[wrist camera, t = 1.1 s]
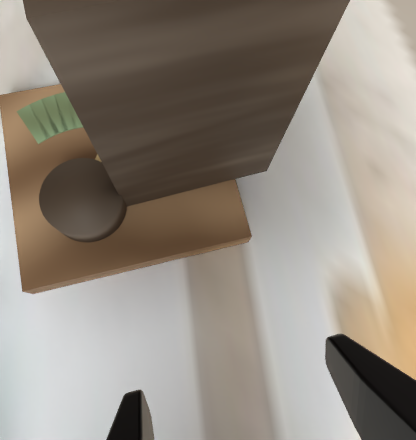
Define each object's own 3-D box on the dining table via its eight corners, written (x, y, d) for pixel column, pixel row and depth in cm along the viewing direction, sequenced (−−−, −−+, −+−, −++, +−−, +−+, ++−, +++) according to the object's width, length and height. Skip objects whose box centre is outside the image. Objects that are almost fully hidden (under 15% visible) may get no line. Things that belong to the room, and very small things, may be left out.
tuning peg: (274, 193, 23) (397, -1, 10) (59, 251, 21) (-166, 116, 8) (229, 69, 26) (276, -229, 12) (32, 112, 24) (-175, -177, 10)
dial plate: (248, 241, 24) (251, 236, 23) (33, 293, 22) (22, 291, 21) (199, 73, 27) (199, 58, 26) (9, 108, 26) (-2, 94, 24)
